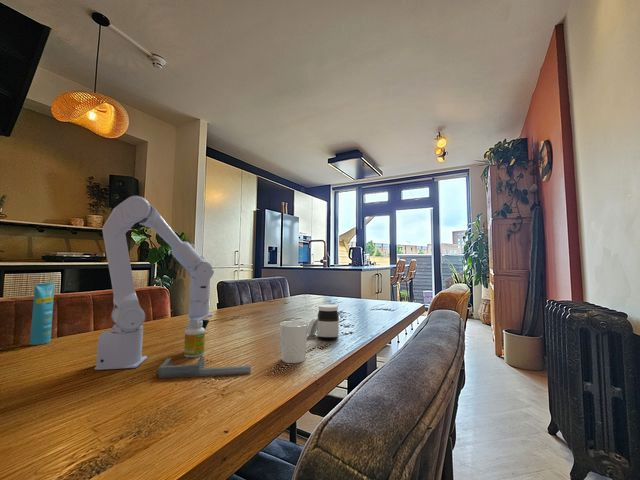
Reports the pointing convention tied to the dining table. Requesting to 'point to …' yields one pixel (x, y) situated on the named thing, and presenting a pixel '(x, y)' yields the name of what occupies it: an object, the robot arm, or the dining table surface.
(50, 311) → the tube
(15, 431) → the dining table surface
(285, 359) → the white cup
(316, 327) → the spread jar
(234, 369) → the rail
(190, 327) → the supplement bottle
